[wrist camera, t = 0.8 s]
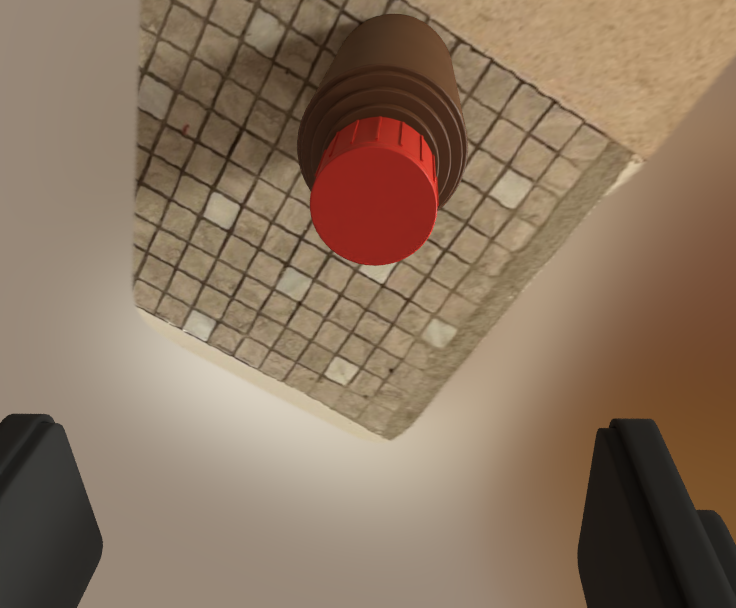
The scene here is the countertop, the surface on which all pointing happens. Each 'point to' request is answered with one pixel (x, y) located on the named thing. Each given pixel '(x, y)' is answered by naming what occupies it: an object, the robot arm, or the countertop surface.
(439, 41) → the sauce bottle
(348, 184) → the cap
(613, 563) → the robot arm
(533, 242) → the countertop surface
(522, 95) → the countertop surface
